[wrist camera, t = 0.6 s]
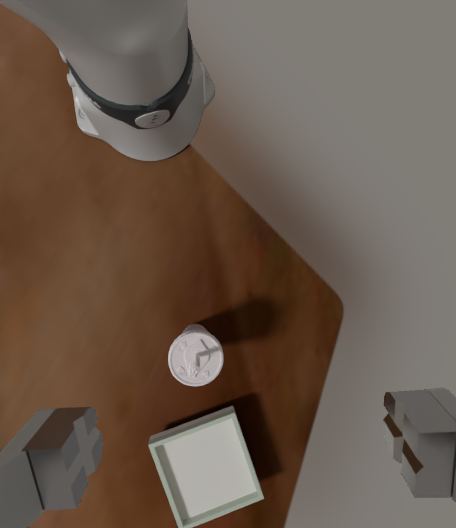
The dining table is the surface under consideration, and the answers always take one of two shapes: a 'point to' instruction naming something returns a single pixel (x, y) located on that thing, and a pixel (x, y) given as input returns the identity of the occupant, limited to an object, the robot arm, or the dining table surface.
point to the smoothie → (195, 356)
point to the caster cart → (205, 468)
